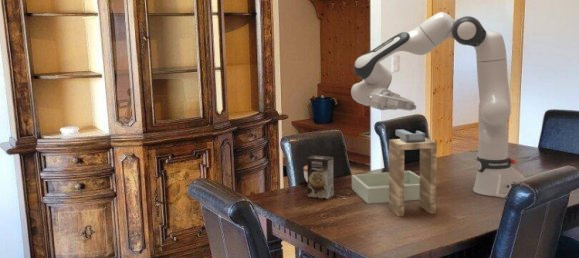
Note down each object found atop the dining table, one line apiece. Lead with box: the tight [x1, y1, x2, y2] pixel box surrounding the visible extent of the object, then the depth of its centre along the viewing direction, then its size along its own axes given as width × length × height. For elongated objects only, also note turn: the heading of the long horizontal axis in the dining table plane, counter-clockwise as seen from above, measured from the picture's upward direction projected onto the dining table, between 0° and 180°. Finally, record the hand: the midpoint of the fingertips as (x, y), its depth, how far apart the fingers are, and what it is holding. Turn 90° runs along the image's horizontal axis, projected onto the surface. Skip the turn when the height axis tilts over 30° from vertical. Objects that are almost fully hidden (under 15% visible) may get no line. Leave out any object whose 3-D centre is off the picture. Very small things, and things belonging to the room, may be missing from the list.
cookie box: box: [306, 154, 334, 200], centre depth 221 cm, size 9×6×16 cm
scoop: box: [395, 129, 426, 143], centre depth 201 cm, size 7×16×3 cm, turn 10°
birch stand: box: [388, 136, 438, 217], centre depth 198 cm, size 14×10×26 cm
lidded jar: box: [303, 165, 308, 183], centre depth 239 cm, size 11×11×9 cm
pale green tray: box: [351, 170, 420, 205], centre depth 222 cm, size 26×22×6 cm
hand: (406, 105), depth 210 cm, fingers open, 8 cm apart
